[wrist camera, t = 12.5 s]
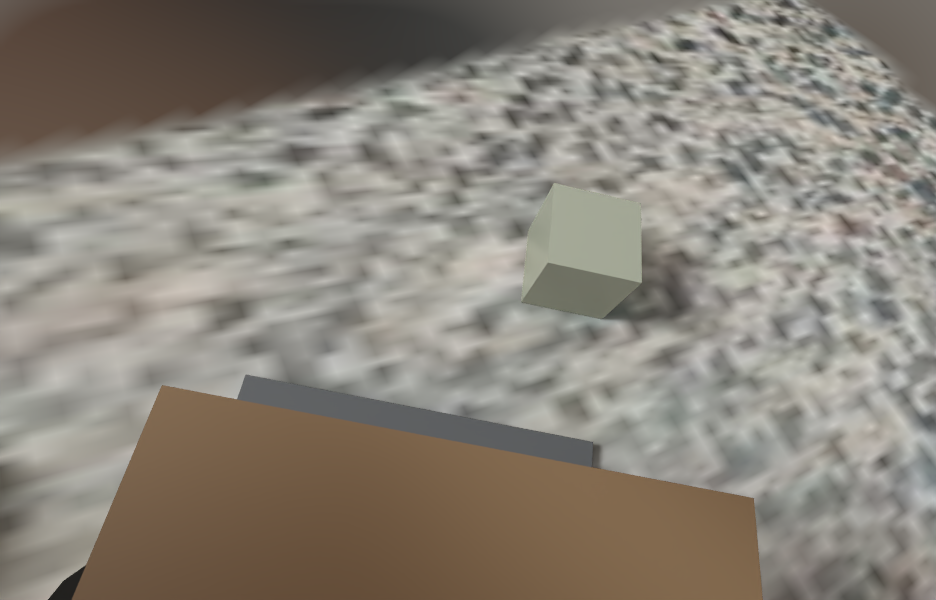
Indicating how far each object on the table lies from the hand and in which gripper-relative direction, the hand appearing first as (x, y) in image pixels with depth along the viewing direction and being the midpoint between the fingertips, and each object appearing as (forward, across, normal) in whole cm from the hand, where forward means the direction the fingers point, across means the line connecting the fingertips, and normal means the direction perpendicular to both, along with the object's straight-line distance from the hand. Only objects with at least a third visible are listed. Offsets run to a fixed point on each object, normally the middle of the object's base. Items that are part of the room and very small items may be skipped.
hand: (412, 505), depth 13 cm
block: (+17, +7, +2) cm, 18 cm away
